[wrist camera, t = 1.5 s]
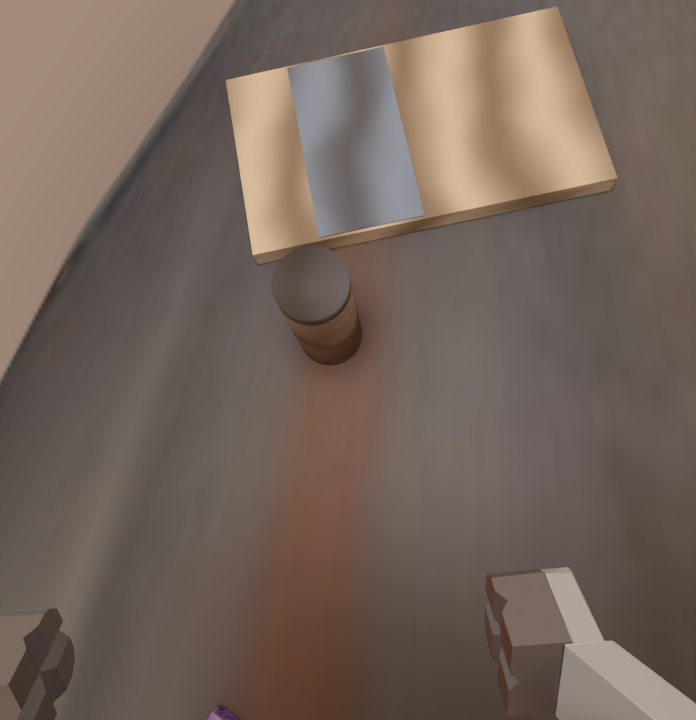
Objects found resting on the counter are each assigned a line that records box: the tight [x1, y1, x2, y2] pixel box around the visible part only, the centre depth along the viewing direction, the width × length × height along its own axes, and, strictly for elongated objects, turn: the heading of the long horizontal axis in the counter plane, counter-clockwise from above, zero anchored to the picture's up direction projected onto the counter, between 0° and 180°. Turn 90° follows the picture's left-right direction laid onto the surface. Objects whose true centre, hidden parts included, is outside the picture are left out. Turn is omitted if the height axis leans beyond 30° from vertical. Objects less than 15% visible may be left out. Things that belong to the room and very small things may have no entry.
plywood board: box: [226, 7, 617, 264], centre depth 42 cm, size 24×14×2 cm, turn 101°
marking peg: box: [271, 246, 362, 365], centre depth 35 cm, size 4×4×9 cm
